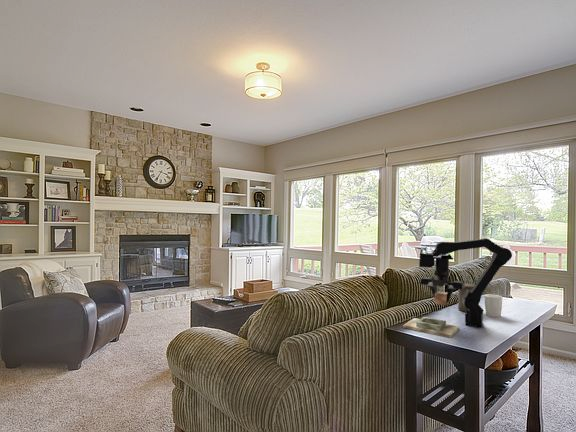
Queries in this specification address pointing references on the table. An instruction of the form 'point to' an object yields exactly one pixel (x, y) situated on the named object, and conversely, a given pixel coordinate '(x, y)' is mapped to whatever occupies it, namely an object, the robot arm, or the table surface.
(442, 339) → the table surface
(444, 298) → the terracotta cube
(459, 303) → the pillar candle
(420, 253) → the robot arm
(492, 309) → the white cup
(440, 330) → the socket board
